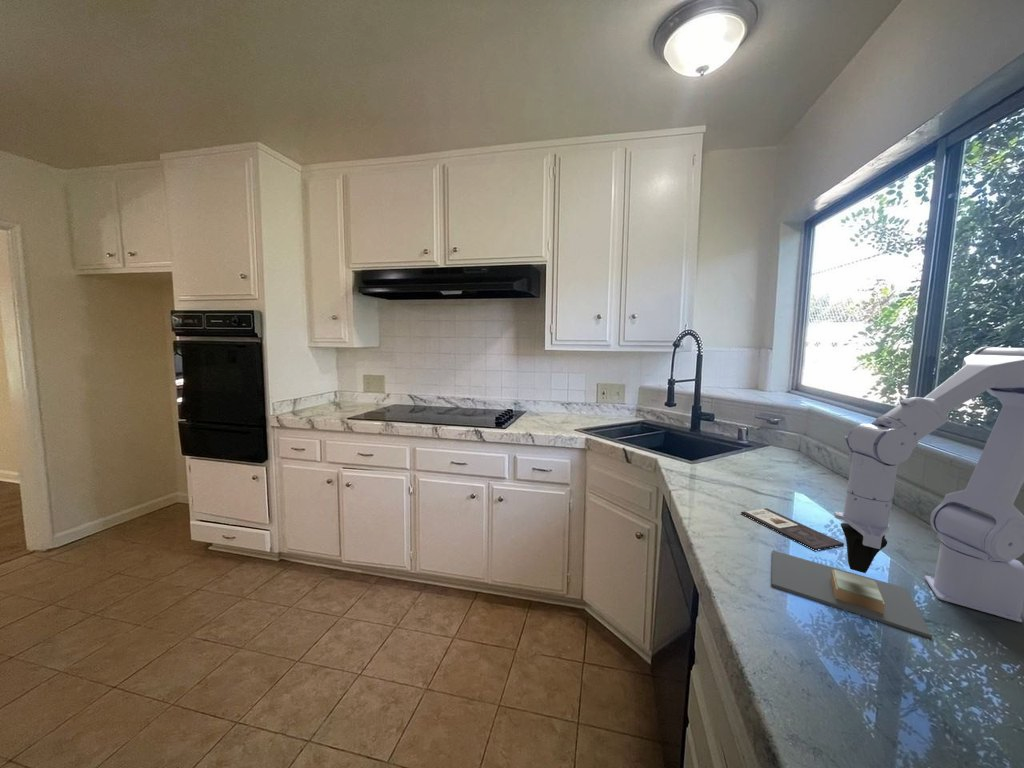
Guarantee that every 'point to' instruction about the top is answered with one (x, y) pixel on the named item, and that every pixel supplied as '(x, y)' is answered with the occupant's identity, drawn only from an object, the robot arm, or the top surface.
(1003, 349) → the robot arm
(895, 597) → the rubber mat
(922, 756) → the top surface
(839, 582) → the oak tile
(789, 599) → the top surface
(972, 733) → the top surface
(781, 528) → the chocolate bar
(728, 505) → the top surface
